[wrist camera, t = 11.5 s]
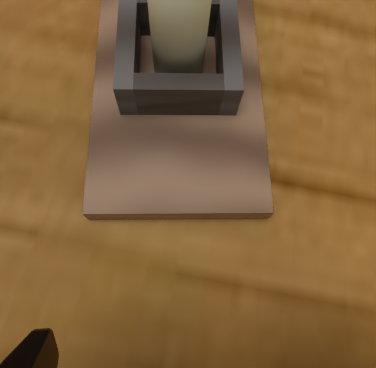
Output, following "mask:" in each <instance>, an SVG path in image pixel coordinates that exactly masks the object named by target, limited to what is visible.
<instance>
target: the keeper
mask: <svg viewBox="0 0 376 368" xmlns="http://www.w3.org/2000/svg"><path fill="white" fill-rule="evenodd" d="M273 213H274V211H273V201H272V191H271V181H270V170H269V160H268V150H267V140H266V130H265V120H264V110H263V100H262V89H261V79H260V69H259V59H258V49H257V39H256V29H255V19H254V8H253V0H212V1H211V10H210V18H209V26H208V34H207V42H206V50H205V58H204V66H203V72H202V73H155V72H154V64H153V54H152V44H151V33H150V23H149V13H148V2H147V0H101V9H100V20H99V32H98V43H97V55H96V66H95V77H94V89H93V100H92V111H91V123H90V134H89V146H88V157H87V168H86V180H85V191H84V202H83V215H84V216H85V217H86V218H87V219H221V218H268V217H270V216H271V215H272V214H273Z"/></svg>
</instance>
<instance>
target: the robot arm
mask: <svg viewBox="0 0 376 368" xmlns="http://www.w3.org/2000/svg"><path fill="white" fill-rule="evenodd" d="M58 358H59V353H58V348H57V344H56V341H55V337H54V334H53V331H52V330H51V329H50V328H44V329H35V330H33V331H31V332H30V333H29V334H28V336H27V337H26V338H25V339H24V340H23V341H22V342H21V343H20V344H19V345H18V346H17V347H16V348H15V349H14V350H13V351H12V352H11V353H10V354H9V355H8V356H7V357H6V358H5V360H4V361H3V362H2V363H1V364H0V368H57V365H58Z"/></svg>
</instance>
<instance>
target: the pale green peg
mask: <svg viewBox="0 0 376 368" xmlns="http://www.w3.org/2000/svg"><path fill="white" fill-rule="evenodd" d="M211 1H212V0H147V2H148V13H149V23H150V33H151V44H152V54H153V64H154V72H155V73H202V72H203V66H204V58H205V50H206V42H207V34H208V26H209V18H210V10H211Z"/></svg>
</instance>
